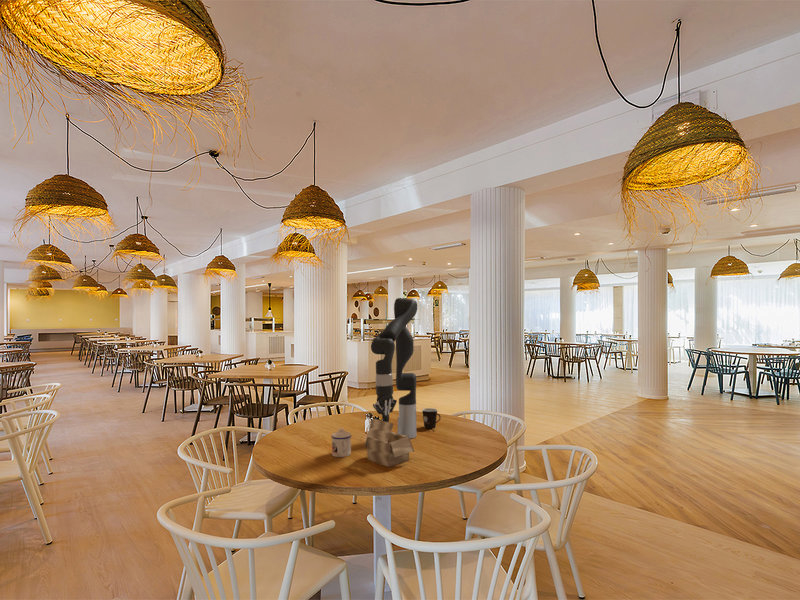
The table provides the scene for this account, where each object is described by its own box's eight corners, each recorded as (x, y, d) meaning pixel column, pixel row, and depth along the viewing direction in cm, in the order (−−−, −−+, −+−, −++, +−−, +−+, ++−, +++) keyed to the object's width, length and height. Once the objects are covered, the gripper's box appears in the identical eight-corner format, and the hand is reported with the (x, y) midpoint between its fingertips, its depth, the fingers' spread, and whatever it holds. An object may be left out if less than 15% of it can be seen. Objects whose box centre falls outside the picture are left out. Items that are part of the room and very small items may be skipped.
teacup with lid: (329, 452, 195) (329, 427, 195) (348, 450, 199) (347, 425, 199) (336, 460, 184) (336, 434, 185) (355, 457, 188) (355, 431, 188)
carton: (363, 458, 187) (362, 434, 188) (388, 450, 198) (388, 428, 199) (394, 469, 173) (393, 444, 173) (419, 460, 184) (419, 436, 184)
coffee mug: (420, 426, 242) (420, 408, 242) (434, 425, 245) (433, 407, 245) (427, 431, 231) (427, 413, 231) (441, 430, 233) (441, 411, 234)
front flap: (366, 436, 185) (372, 418, 187) (367, 436, 185) (373, 418, 188) (387, 442, 175) (393, 423, 178) (387, 442, 176) (393, 423, 178)
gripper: (389, 380, 192) (390, 418, 191) (367, 385, 182) (368, 425, 182) (400, 382, 186) (402, 421, 186) (379, 387, 177) (380, 428, 176)
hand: (385, 423), depth 184 cm, fingers closed
